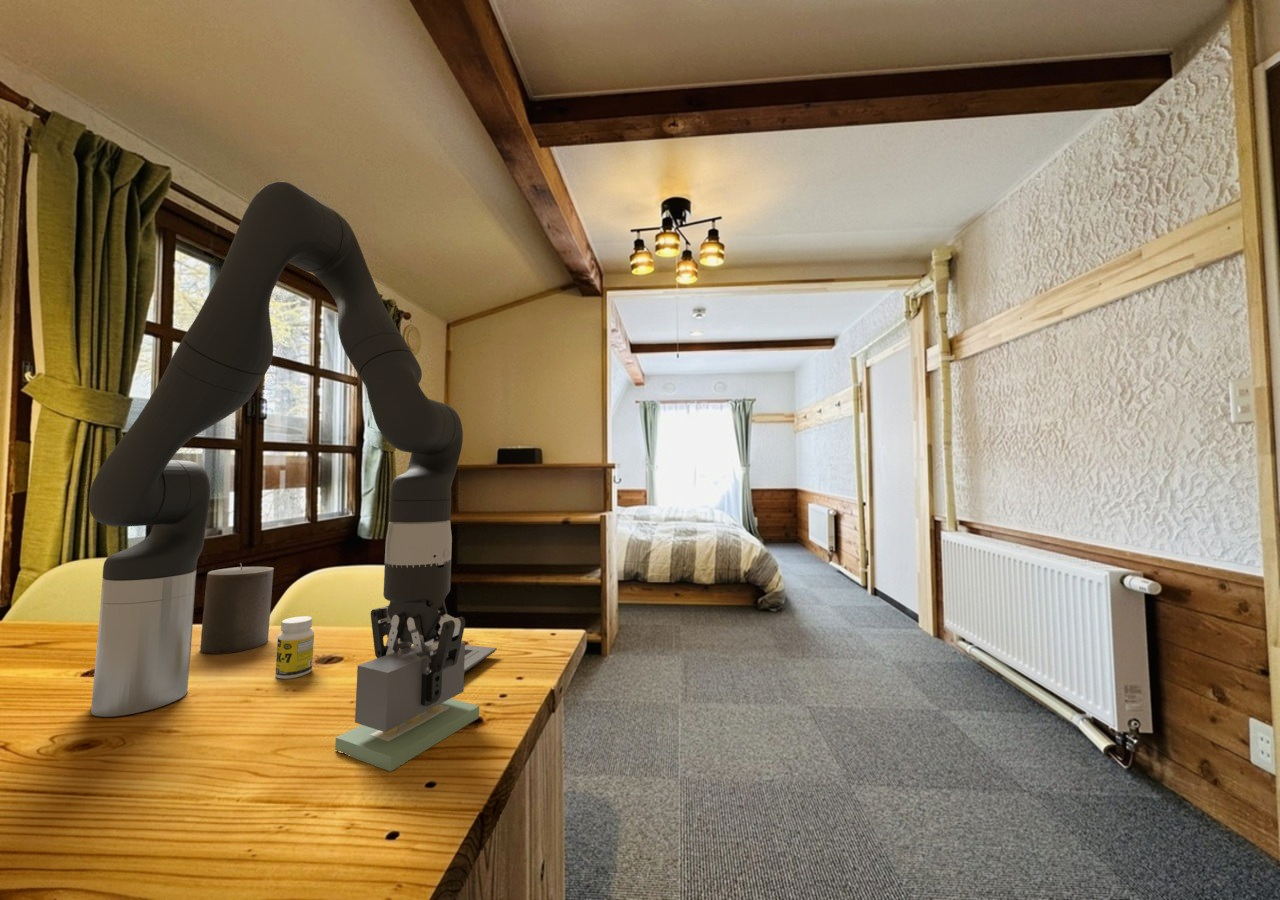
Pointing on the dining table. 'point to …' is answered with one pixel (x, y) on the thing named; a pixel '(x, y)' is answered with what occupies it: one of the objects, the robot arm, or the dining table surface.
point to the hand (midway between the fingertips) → (413, 698)
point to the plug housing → (400, 688)
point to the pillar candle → (236, 609)
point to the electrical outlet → (476, 655)
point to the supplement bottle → (295, 648)
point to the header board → (407, 735)
